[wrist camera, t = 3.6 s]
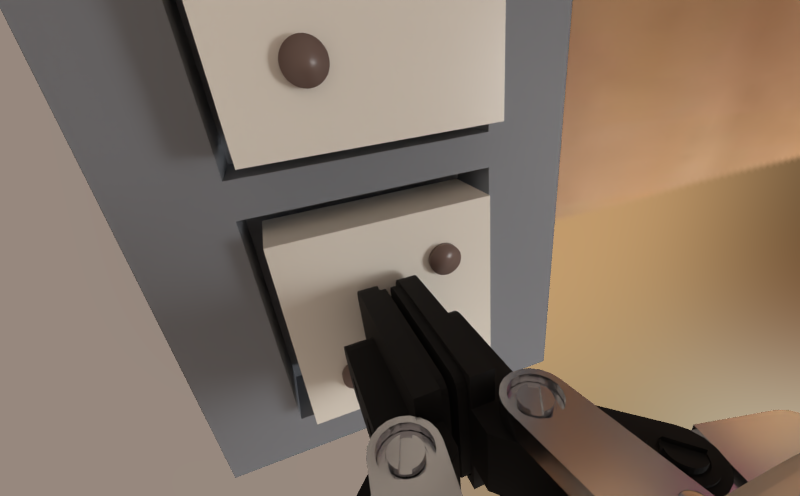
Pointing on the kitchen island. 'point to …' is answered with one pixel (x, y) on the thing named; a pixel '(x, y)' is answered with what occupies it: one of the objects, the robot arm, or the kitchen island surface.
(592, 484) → the robot arm
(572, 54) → the kitchen island surface
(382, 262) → the tile
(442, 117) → the tile
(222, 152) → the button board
